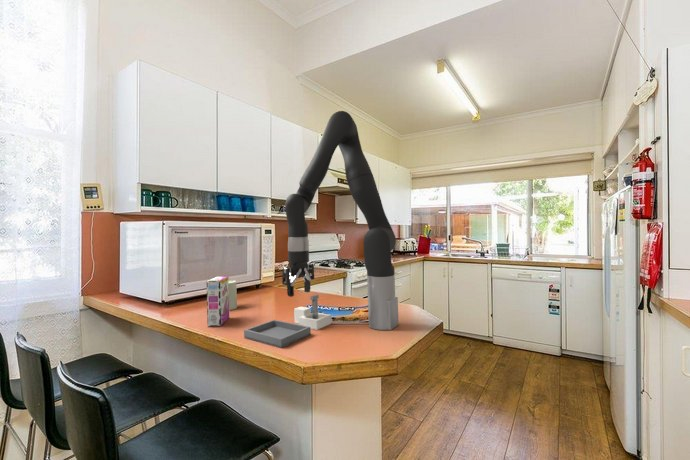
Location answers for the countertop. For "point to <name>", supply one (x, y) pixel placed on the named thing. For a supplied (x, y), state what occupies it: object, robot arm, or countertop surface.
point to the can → (232, 295)
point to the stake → (314, 306)
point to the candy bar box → (217, 301)
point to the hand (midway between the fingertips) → (299, 294)
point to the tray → (277, 333)
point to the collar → (305, 318)
